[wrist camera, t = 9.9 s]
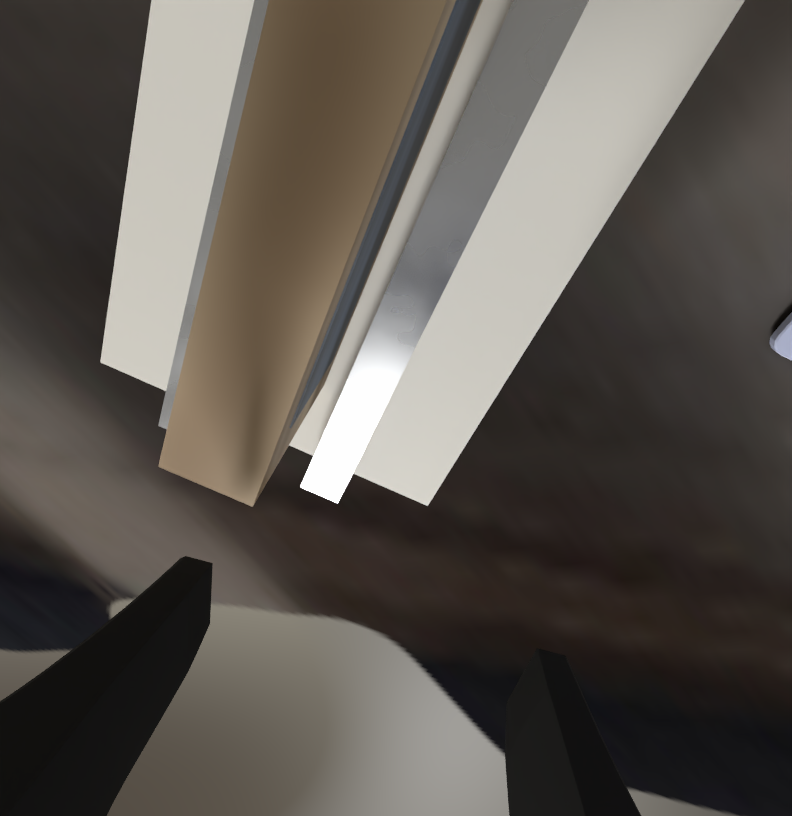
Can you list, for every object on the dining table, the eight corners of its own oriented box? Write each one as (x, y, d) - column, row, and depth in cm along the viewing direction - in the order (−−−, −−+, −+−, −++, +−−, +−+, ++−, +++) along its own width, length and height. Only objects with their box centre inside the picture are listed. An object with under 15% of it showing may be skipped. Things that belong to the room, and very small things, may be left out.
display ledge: (791, -99, 12) (883, -165, 9) (430, 487, 22) (423, 540, 19) (243, -421, 11) (165, -604, 8) (119, 350, 21) (64, 385, 18)
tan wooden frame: (522, -91, 12) (568, -307, 6) (325, 384, 19) (254, 507, 13) (422, -146, 12) (365, -430, 6) (260, 355, 19) (156, 465, 13)
